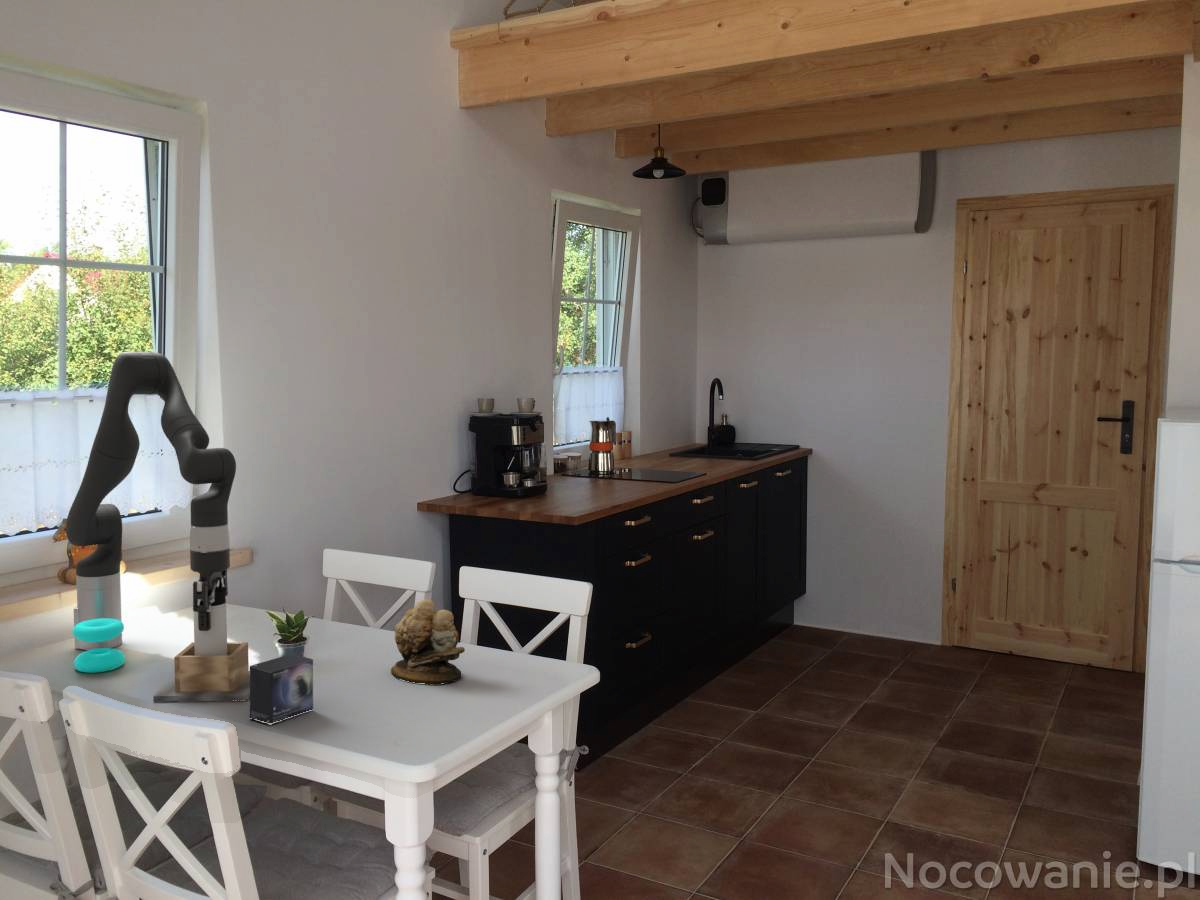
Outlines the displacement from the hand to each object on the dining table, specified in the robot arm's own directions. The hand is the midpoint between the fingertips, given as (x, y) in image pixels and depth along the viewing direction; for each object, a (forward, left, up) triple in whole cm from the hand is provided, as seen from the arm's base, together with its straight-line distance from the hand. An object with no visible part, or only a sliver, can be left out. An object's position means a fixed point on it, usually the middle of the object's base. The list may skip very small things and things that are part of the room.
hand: (211, 624), depth 208 cm
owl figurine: (+43, +8, -14) cm, 46 cm away
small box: (+18, -16, -14) cm, 28 cm away
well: (0, 0, -13) cm, 13 cm away
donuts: (-29, +15, -14) cm, 35 cm away
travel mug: (0, 0, -12) cm, 12 cm away
